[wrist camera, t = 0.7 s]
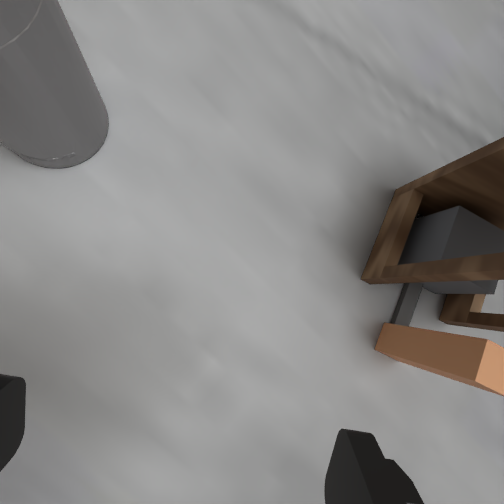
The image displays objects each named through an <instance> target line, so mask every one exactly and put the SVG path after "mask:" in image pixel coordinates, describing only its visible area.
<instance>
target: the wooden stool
mask: <svg viewBox="0 0 504 504" xmlns="http://www.w3.org/2000/svg"><path fill="white" fill-rule="evenodd" d="M457 206H462V207H463V208H465V209H467V210H468V211H470V212H472V213H474V214H475V215H477V216H479V217H481V218H482V219H484V220H486V221H488V222H489V223H491V224H493V225H494V226H496V227H498V228H500V229H501V230H503V231H504V137H503V138H501V139H499V140H497V141H495V142H493V143H491V144H488V145H486V146H484V147H482V148H480V149H478V150H476V151H474V152H472V153H470V154H468V155H466V156H464V157H462V158H460V159H458V160H456V161H453V162H451V163H449V164H447V165H445V166H443V167H441V168H439V169H437V170H435V171H433V172H431V173H429V174H427V175H425V176H423V177H421V178H419V179H416V180H414V181H412V182H410V183H408V184H406V185H404V186H402V187H400V188H398V189H396V191H395V193H394V196H393V198H392V201H391V203H390V206H389V208H388V211H387V214H386V216H385V219H384V221H383V224H382V226H381V229H380V231H379V234H378V236H377V239H376V241H375V244H374V246H373V249H372V252H371V254H370V257H369V259H368V262H367V264H366V267H365V269H364V272H363V274H362V277H361V280H363V281H365V282H367V283H369V284H390V283H419V282H447V281H476V280H504V252H501V253H493V254H485V255H477V256H468V257H460V258H452V259H444V260H435V261H427V262H419V263H411V264H403V265H397V264H398V262H399V259H400V256H401V254H402V251H403V248H404V246H405V243H406V240H407V238H408V235H409V232H410V230H411V227H412V224H413V221H414V219H415V216H416V213H419V214H421V215H423V216H424V217H425V216H428V215H431V214H434V213H437V212H441V211H444V210H447V209H450V208H453V207H457ZM485 296H486V294H447V297H446V300H445V303H444V306H443V309H442V312H441V315H440V318H439V320H440V321H442V322H444V323H446V324H449V325H456V326H464V327H472V328H479V329H487V330H495V331H502V332H504V314H492V313H480V312H481V309H482V305H483V302H484V299H485Z"/></svg>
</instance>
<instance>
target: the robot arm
mask: <svg viewBox="0 0 504 504" xmlns="http://www.w3.org/2000/svg"><path fill="white" fill-rule="evenodd" d="M108 126H109V121H108V113H107V110H106V107H105V104H104V102H103V100H102V98H101V96H100V93H99V91H98V89H97V87H96V84H95V82H94V80H93V77H92V75H91V73H90V71H89V68H88V66H87V64H86V62H85V60H84V57H83V55H82V53H81V51H80V49H79V46H78V44H77V42H76V40H75V37H74V35H73V33H72V31H71V29H70V26H69V24H68V22H67V20H66V18H65V15H64V13H63V11H62V9H61V6H60V4H59V2H58V0H0V141H1V142H2V143H3V144H4V145H6V146H7V147H8V148H9V149H11V150H12V151H13V152H14V153H16V154H17V155H19V156H20V157H21V158H23V159H24V160H26V161H28V162H30V163H33V164H35V165H38V166H43V167H47V168H64V167H70V166H74V165H77V164H80V163H82V162H84V161H85V160H87V159H89V158H90V157H91V156H93V155H94V154H95V153H96V152H97V151H98V150H99V148H100V147H101V146H102V144H103V143H104V141H105V138H106V136H107V132H108ZM25 397H26V383H25V380H24V379H23V378H21V377H16V376H9V375H3V374H0V471H1V470H2V469H3V468H4V467H5V466H6V464H7V463H8V462H9V461H10V460H11V458H12V457H13V456H14V454H15V453H16V451H17V449H18V447H19V446H20V443H21V441H22V438H23V435H24V429H25ZM325 503H326V504H424V503H423V501H422V499H421V497H420V495H419V493H418V491H417V489H416V488H415V486H414V484H413V482H412V480H411V479H410V478H409V477H408V476H407V475H406V473H405V472H404V471H403V470H402V469H401V468H400V467H399V466H398V465H397V463H396V462H395V461H394V460H391V459H385V458H384V456H383V454H382V451H381V449H380V447H379V445H378V443H377V441H376V439H375V437H374V436H373V435H372V434H371V433H367V432H361V431H354V430H348V429H341V430H340V431H339V433H338V435H337V439H336V442H335V446H334V449H333V453H332V456H331V460H330V463H329V467H328V470H327V474H326V479H325Z"/></svg>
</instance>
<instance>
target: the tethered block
mask: <svg viewBox="0 0 504 504" xmlns="http://www.w3.org/2000/svg"><path fill="white" fill-rule="evenodd" d="M501 252H504V231H503V230H501V229H500V228H498V227H496V226H494V225H493V224H491V223H489V222H488V221H486V220H484V219H482V218H481V217H479V216H477V215H475V214H474V213H472V212H470V211H468V210H467V209H465V208H463V207H462V206H457V207H453V208H450V209H447V210H444V211H441V212H437V213H434V214H431V215H428V216H425V217H421V218H418V219H415V220H414V221H413V224H412V227H411V230H410V232H409V235H408V238H407V240H406V243H405V246H404V248H403V251H402V254H401V256H400V259H399V262H398V264H397V265H403V264H411V263H419V262H427V261H435V260H444V259H452V258H460V257H468V256H477V255H485V254H493V253H501ZM497 282H498V280H476V281H447V282H419V283H405V285H404V288H403V290H402V293H401V296H400V299H399V301H398V304H397V307H396V310H395V312H394V315H393V318H392V321H391V323H384V325H383V327H382V330H381V333H380V336H379V338H378V341H377V344H376V346H375V350H377V351H379V352H381V353H383V354H385V355H387V356H389V357H391V358H393V359H395V360H397V361H400V362H403V363H406V364H409V365H412V366H415V367H418V368H421V369H424V370H427V371H430V372H433V373H435V374H438V375H441V376H444V377H447V378H450V379H453V380H456V381H459V382H462V383H465V384H468V385H471V386H474V387H477V388H480V389H483V390H486V391H489V392H492V393H495V394H498V395H501V396H504V348H503V347H501V346H499V345H498V344H496V343H494V342H492V341H490V340H488V339H482V338H476V337H470V336H464V335H458V334H451V333H445V332H439V331H433V330H427V329H421V328H414V327H409V324H410V322H411V319H412V316H413V313H414V310H415V307H416V304H417V302H418V299H419V296H420V293H421V290H422V287H424V288H426V289H428V290H429V291H431V292H433V293H435V294H494V292H495V289H496V286H497Z"/></svg>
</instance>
